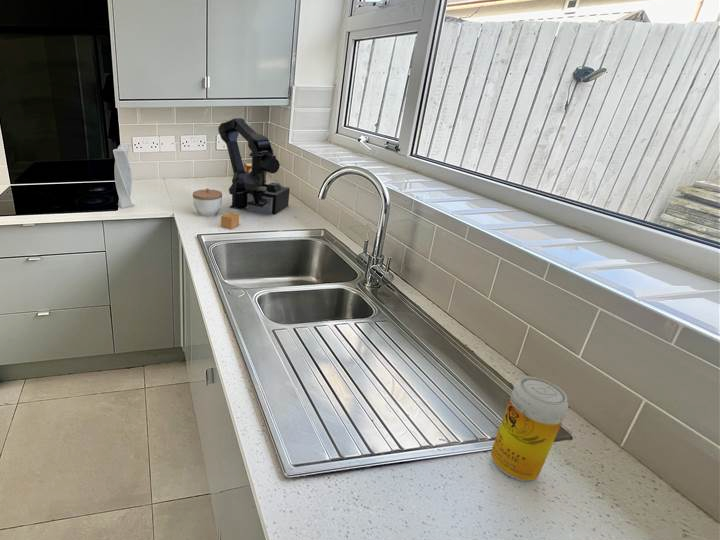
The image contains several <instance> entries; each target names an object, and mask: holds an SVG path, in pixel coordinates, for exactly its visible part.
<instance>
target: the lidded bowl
mask: <svg viewBox="0 0 720 540" xmlns="http://www.w3.org/2000/svg"><path fill="white" fill-rule="evenodd" d="M222 192H223V191H220V190H217V189H209V188H205V189H198V190H195V191H193V192H192V201H193V206H194V209H195V210H196V211H197V212H198V214H199V215H200V216H203V217H211V216H215V215H216V214H217V213H218V211H219V210H220V209H221V207H222V201H223V193H222Z"/></svg>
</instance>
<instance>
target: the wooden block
mask: <svg viewBox="0 0 720 540" xmlns="http://www.w3.org/2000/svg"><path fill="white" fill-rule="evenodd" d="M239 224H240V214H239V213H236V212H229V211H227V212H226V213H224V214H223V215H221V216H220V227H221V228H226V229H230V230H232V229H233V228H234V229H235V228H236V227H237V226H239Z"/></svg>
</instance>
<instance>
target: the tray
mask: <svg viewBox="0 0 720 540" xmlns="http://www.w3.org/2000/svg"><path fill="white" fill-rule="evenodd" d="M246 210H247V211H252V212H258V213H262V214H268V215H273V214H272V211H274V197H273V196H267V195H263V196H262V198H261V200H260V202H259V203H255V201H254V198H253V196H252V195H250V194H248V199H247V207H246Z"/></svg>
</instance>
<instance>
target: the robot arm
mask: <svg viewBox="0 0 720 540" xmlns="http://www.w3.org/2000/svg"><path fill="white" fill-rule="evenodd" d="M217 130H218V133H219V137H220V138H221V140H222V141H223V142H224V143H225V144H226V148H227V152H228V156H229V160H230V164H231V168H232V172H233V176H232V179H231V183H232V184H231V185H230V186H229V188H228V192H229V195H231V205H230V206H229V207H230V208H232V209H233V208H234V209H239V210H244V209H247V199H248V197H247V194H250V192H251V193H252V196H253V198H254V201H255V203H259V202H260V200H261V198H262V196H263V194H264V193H265V191H268V192H272V193H276V192H278V191H280V190H281V187H282V185H281V183H279V182H270V183H267V180H265V173H266V174H268V173H269V174H276V173H277V172H278V171H279V169H280V166H281V164H280V161H279V159H278V158H277V155H275V154H274V149H273V148H272V145H271V142H270V139H269V138H268V137H267V136H266V135H263V134H260V133H258V132H256V131H255V129H253V128H252V127H251V126H250V125H249V124H248V123H247V122H246V121H245V119H244V118H242V117H237V118H233V119H230V120H228V121H225V122H222V123H219V126H218V129H217ZM239 135H241V137H242V138H243V139H244V140H245V141H246V142H247V147H248V148H249V150H250V151H251V153H249V157H251V163H252V171H251V172H250V173H246V172H245V170H244V162H243V160H242V155H241V150H240V147H239V144H238V138H239Z"/></svg>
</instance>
